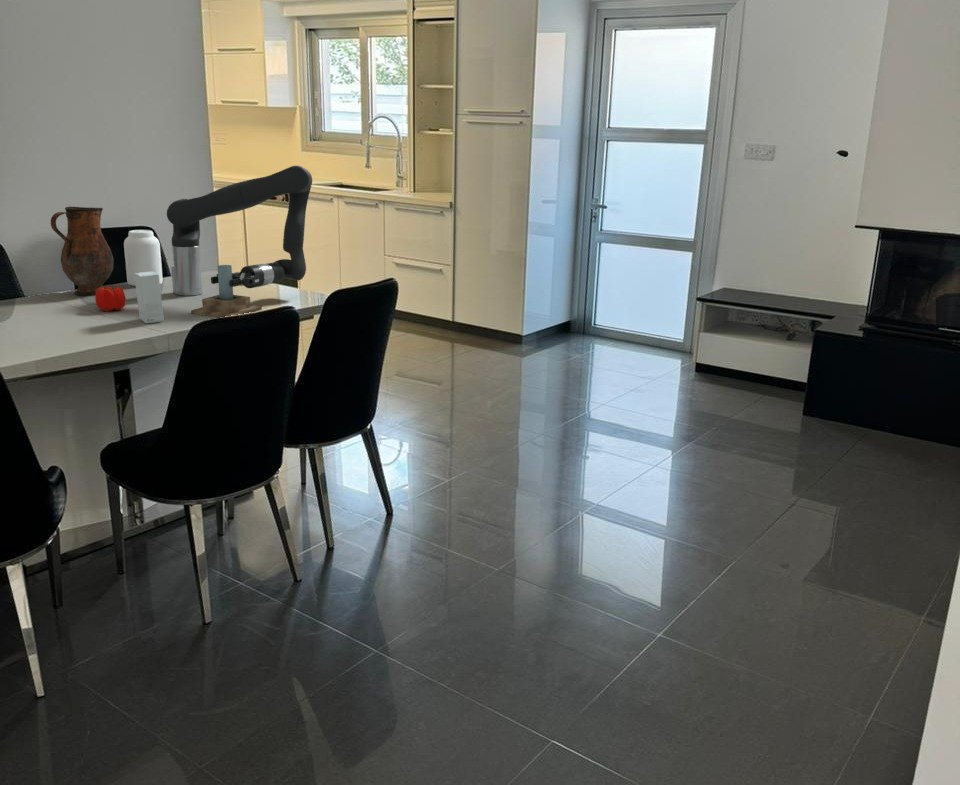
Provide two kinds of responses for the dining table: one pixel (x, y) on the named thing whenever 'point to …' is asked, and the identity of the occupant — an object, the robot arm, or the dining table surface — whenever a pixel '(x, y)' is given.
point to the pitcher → (84, 249)
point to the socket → (226, 306)
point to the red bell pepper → (110, 298)
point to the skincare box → (149, 297)
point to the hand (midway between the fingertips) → (220, 282)
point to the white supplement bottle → (142, 254)
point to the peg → (225, 282)
